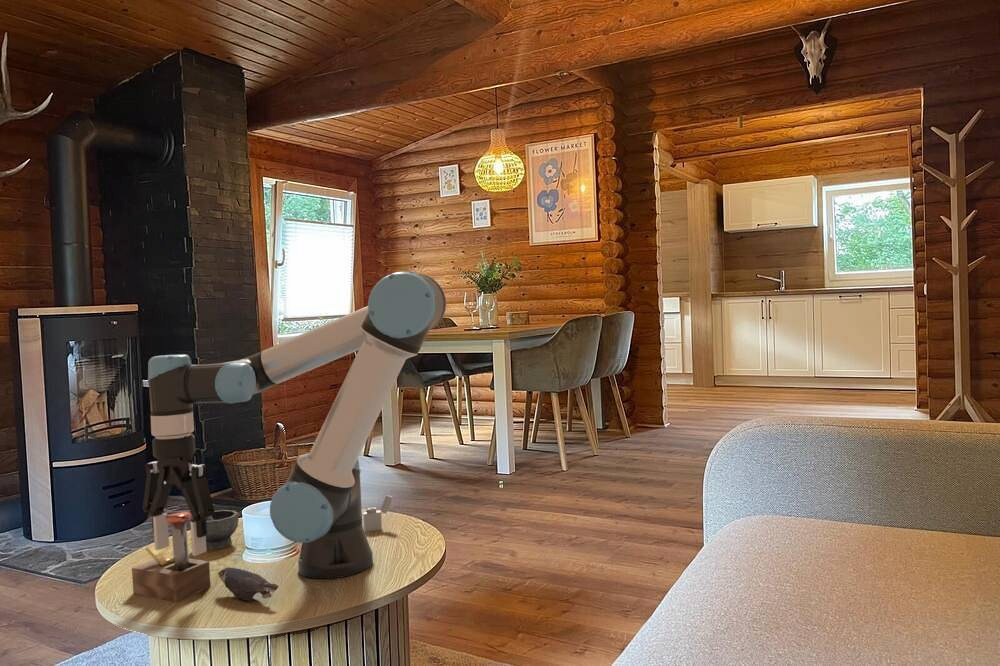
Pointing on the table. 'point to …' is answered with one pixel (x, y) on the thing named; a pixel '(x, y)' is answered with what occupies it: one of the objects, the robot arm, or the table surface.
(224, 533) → the mortar and pestle
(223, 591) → the table surface
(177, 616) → the table surface
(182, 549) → the red-capped peg
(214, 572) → the table surface
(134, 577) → the block
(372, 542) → the table surface
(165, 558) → the golden rectangular bar
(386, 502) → the lighter
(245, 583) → the bird model
